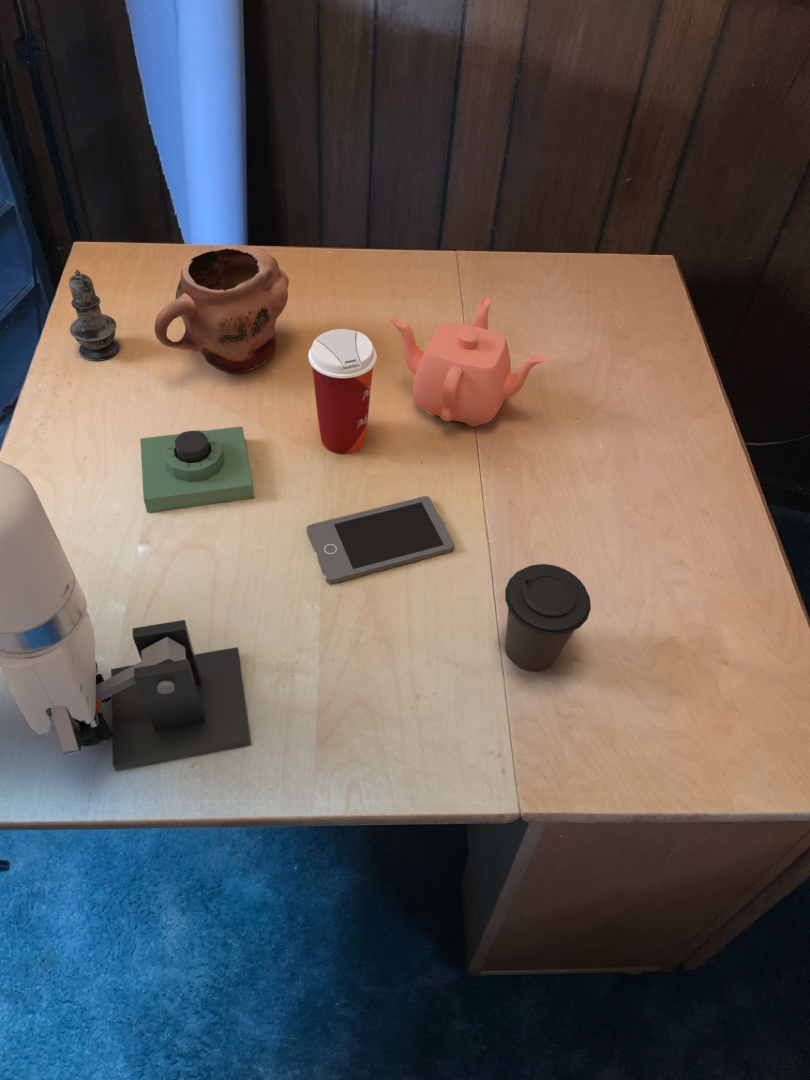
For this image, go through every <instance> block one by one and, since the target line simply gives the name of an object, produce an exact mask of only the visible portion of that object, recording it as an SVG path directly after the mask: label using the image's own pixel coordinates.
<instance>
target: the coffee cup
mask: <svg viewBox="0 0 810 1080" xmlns="http://www.w3.org/2000/svg"><path fill="white" fill-rule="evenodd" d="M504 593H505V594H504V600H505V603H506V606H507V620H506V630H505V631H506V632H505V652H506V655H507V657H508V659H509V660H510V661H511V663H513V664H514V665H515V666H516V667H518V668H519V669H522V670H524V671H527V672H534V673H535V672H536V673H537V672H542V671H545V670H547V669H549V668H551V667H552V666H553V664H554V663H555V662H556V660H557V659H558V657H559V655H561V652H562V651H563V650H564V648H565V646H566V645H567V644H568V642H569V640H570V639H571V637H572V636H573V634H574V632H575V631H576V630H578V629H580V628H581V627H582V626H583V625H584V624H585V623H586V622H587V620H588V618H589V615H590V612H591V609H592V606H591V597H590V595H589V593H588V591H587V588H586V586H585V585H584V583H583V582H582V581H581V580H580V579H579V577H578V576H576V575H575V574H574V573H572V572H571V571H569V570H567V569H566V568H563V567H561V566H557V565H555V564H554V565H553V564H547V563H539V564H532V565H528V566H525V567H524V568H521V569H520V570H518V571H516V572H515V573H514V574H513V575H512V576H511V577H510V578H509V580H508V582H507V584H506V587H505V591H504Z"/></svg>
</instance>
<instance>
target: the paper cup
mask: <svg viewBox="0 0 810 1080" xmlns="http://www.w3.org/2000/svg"><path fill="white" fill-rule="evenodd" d="M377 358H378V357H377V352H376V349H375V348H374V345H373V343H372V341H371V339H370V338H369V337H368V336H367V335H366V334H364V333H362V332H360V331H357V330H354V329H353V330H352V329H348V328H335V329H331V330H328V331H325V332H323V333H321V334H319V335H318V336H317V337H316V338H314V340H313V342H312V345H311V347H310V348H309V351H308V362H309V364H310V365H311V369H312V378H313V386H314V397H315V404H316V413H317V422H318V431H319V437H320V442H321V444H322V446H323V447H324V448H325V449H326V450H328V451H329V452H331V453H334V454H338V455H348V454H352V453H355V452H357V451H359V450H360V449H361V448H362V447H363V446H364V445H365V442H366V438H367V429H368V421H369V414H370V413H369V412H370V403H371V402H370V401H371V394H372V393H371V391H372V382H373V373H374V366H375V365H376V363H377V360H378V359H377Z"/></svg>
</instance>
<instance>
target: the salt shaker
mask: <svg viewBox="0 0 810 1080" xmlns="http://www.w3.org/2000/svg"><path fill="white" fill-rule="evenodd" d="M68 287H69V291H70V293H71V296H72V300H71V303H70V304H71V307H72V308H74V309H75V312H76V315H77V318H76V319H75V320H73V322H72V323H71V324H70V326H69V333H70V335H71V336H72V337H73V338H74V339H75V341H76V342H77V343H78V344H79V348H78V354H79V355H80V357H81V358H82V359H84V360H87V361H90V362H104V361H108V360H110V359H112V358H113V357H115V356H117V354H118V353H119V352H120V349H121V348H120V343H119V341H118V340H116V338H115V334H116V329H117V322H116V320H115V319H114V318H113V317H111V316H110V315H107V314H105V313H103V312H102V310H101V307H100V304H101V303H102V301H101V298H100V297H99V296H98V295H97V294H96V290H95V286H94V283H93V280H92V279H91V277H90V276H88V275H87V274H85V273H81V271H80V270H78V269H76V270H75V272H74V274H73V275H72V276H70V277H69V279H68Z"/></svg>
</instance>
